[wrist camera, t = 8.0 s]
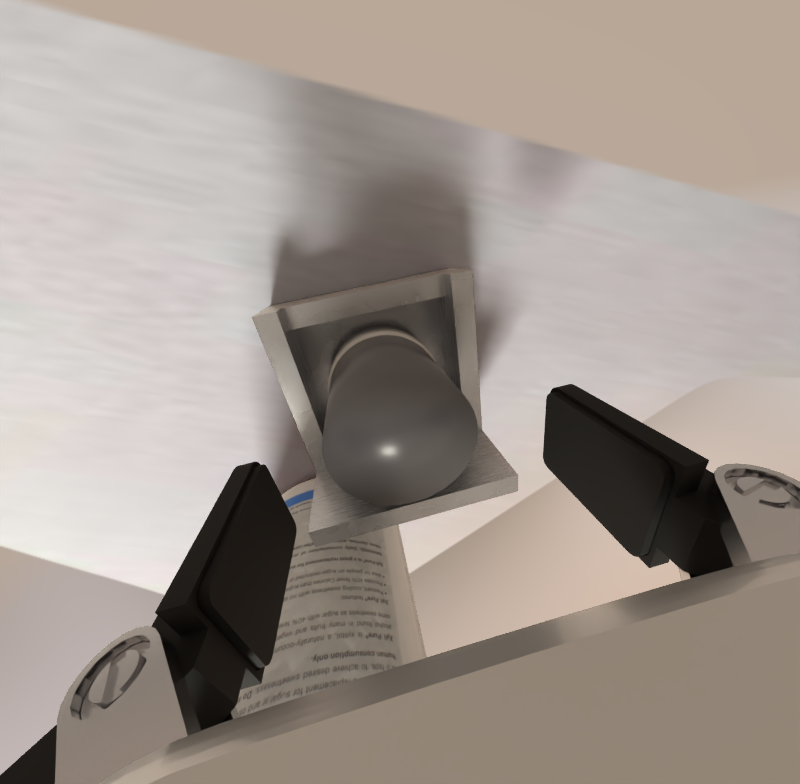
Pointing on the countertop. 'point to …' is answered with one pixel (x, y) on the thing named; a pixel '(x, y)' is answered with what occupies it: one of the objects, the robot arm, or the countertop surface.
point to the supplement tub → (338, 612)
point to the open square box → (309, 373)
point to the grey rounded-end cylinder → (394, 420)
